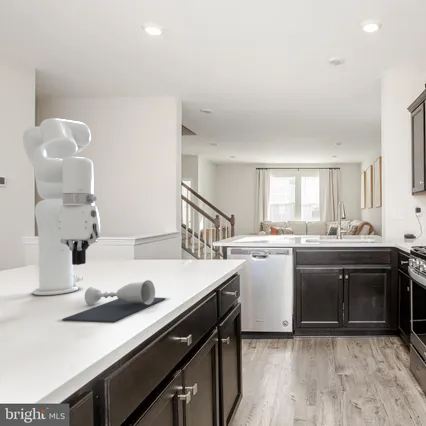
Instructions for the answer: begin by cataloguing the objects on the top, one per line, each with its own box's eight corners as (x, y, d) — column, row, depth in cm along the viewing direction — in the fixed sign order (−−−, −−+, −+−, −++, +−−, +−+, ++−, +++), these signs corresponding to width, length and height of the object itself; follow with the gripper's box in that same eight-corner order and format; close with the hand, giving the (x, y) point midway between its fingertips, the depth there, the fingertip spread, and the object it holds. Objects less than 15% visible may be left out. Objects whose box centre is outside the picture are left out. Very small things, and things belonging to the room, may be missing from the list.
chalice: (77, 298, 104) (137, 294, 102) (89, 278, 109) (147, 275, 107) (91, 313, 109) (149, 309, 107) (102, 293, 114) (157, 290, 112)
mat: (123, 298, 117) (123, 296, 117) (165, 299, 116) (165, 297, 116) (62, 320, 94) (62, 318, 94) (113, 322, 92) (113, 320, 92)
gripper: (111, 200, 110) (111, 262, 110) (65, 201, 112) (66, 262, 112) (92, 199, 102) (93, 266, 102) (43, 200, 104) (44, 265, 104)
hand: (78, 264), depth 107 cm, fingers closed
